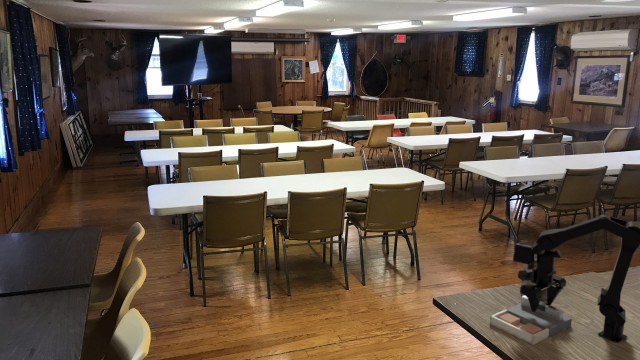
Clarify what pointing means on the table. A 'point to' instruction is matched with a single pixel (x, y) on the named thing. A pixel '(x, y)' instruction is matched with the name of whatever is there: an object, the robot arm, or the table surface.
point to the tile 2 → (531, 328)
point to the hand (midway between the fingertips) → (541, 308)
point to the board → (539, 319)
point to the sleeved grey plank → (544, 309)
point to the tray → (517, 329)
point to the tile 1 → (510, 319)
